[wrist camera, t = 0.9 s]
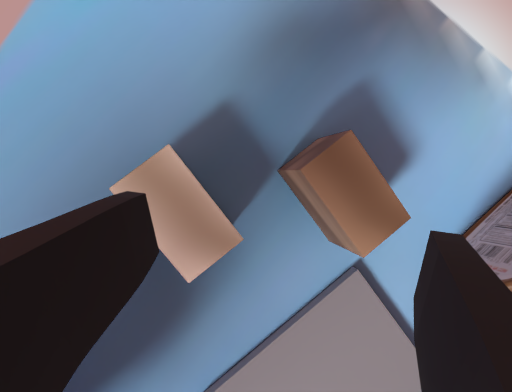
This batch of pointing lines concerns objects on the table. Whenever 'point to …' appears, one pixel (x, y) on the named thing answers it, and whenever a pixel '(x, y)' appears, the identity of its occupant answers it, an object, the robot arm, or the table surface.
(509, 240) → the tin
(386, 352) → the slate plate
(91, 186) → the table surface
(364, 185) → the walnut block
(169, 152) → the tan block
